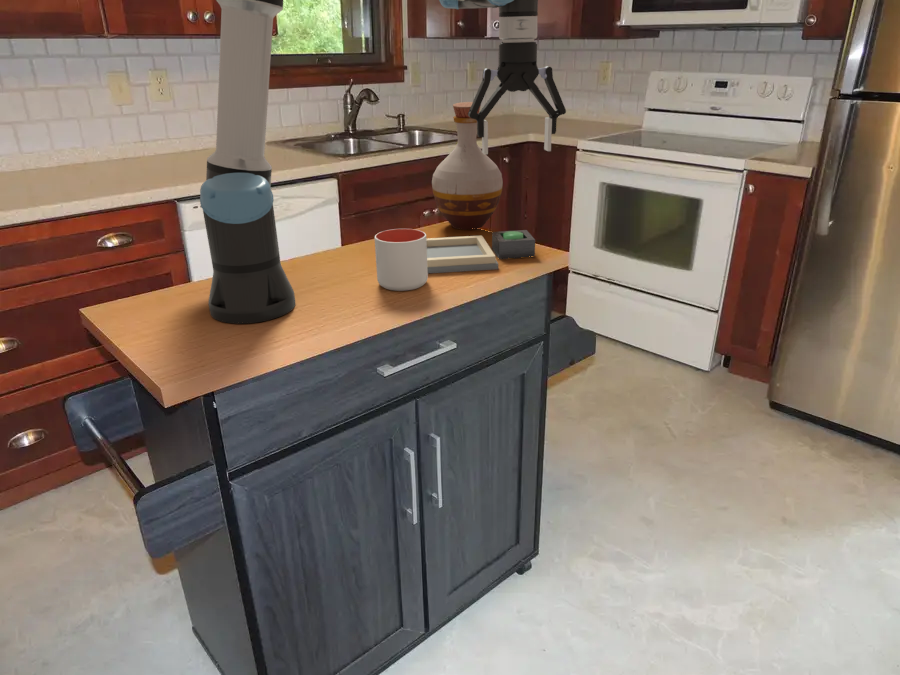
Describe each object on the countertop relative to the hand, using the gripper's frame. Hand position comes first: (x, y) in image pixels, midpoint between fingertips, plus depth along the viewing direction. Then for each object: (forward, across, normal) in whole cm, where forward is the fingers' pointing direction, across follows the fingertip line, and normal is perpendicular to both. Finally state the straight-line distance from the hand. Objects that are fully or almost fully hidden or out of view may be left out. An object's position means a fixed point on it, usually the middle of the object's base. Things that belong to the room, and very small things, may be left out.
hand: (516, 152), depth 140 cm
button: (+21, 0, +1) cm, 21 cm away
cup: (+22, -26, -16) cm, 38 cm away
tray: (+22, -14, -1) cm, 26 cm away
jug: (+23, -6, +27) cm, 35 cm away
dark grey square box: (+22, 0, +1) cm, 22 cm away
